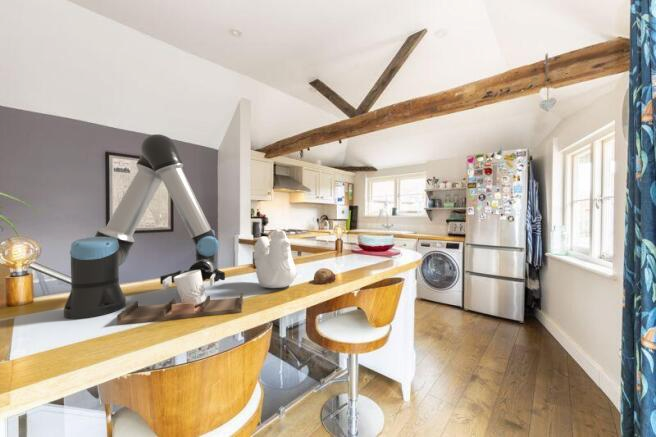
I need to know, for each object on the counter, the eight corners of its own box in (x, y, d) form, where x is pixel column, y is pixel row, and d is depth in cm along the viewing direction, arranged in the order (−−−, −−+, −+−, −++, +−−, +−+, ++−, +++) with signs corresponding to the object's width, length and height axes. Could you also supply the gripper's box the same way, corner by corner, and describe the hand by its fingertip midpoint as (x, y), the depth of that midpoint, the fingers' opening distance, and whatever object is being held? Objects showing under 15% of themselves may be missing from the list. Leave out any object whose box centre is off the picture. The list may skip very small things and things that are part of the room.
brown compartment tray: (117, 324, 74) (117, 310, 74) (135, 310, 86) (135, 297, 86) (241, 312, 83) (241, 299, 83) (242, 300, 95) (242, 289, 95)
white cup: (196, 307, 81) (188, 276, 81) (175, 310, 83) (167, 279, 82) (213, 296, 89) (205, 268, 88) (193, 299, 91) (186, 271, 90)
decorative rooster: (303, 288, 111) (303, 229, 111) (268, 294, 102) (267, 230, 102) (278, 277, 131) (277, 227, 131) (246, 281, 122) (246, 228, 122)
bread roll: (314, 287, 126) (307, 272, 125) (332, 276, 129) (325, 262, 128) (321, 292, 117) (314, 277, 115) (340, 280, 120) (333, 265, 119)
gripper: (234, 277, 108) (229, 292, 87) (165, 282, 101) (143, 298, 81) (234, 259, 108) (229, 269, 87) (165, 262, 101) (142, 274, 81)
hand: (188, 283), depth 84 cm, fingers open, 13 cm apart
